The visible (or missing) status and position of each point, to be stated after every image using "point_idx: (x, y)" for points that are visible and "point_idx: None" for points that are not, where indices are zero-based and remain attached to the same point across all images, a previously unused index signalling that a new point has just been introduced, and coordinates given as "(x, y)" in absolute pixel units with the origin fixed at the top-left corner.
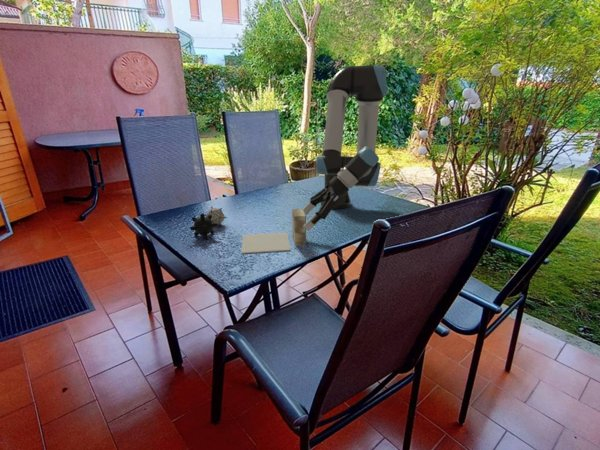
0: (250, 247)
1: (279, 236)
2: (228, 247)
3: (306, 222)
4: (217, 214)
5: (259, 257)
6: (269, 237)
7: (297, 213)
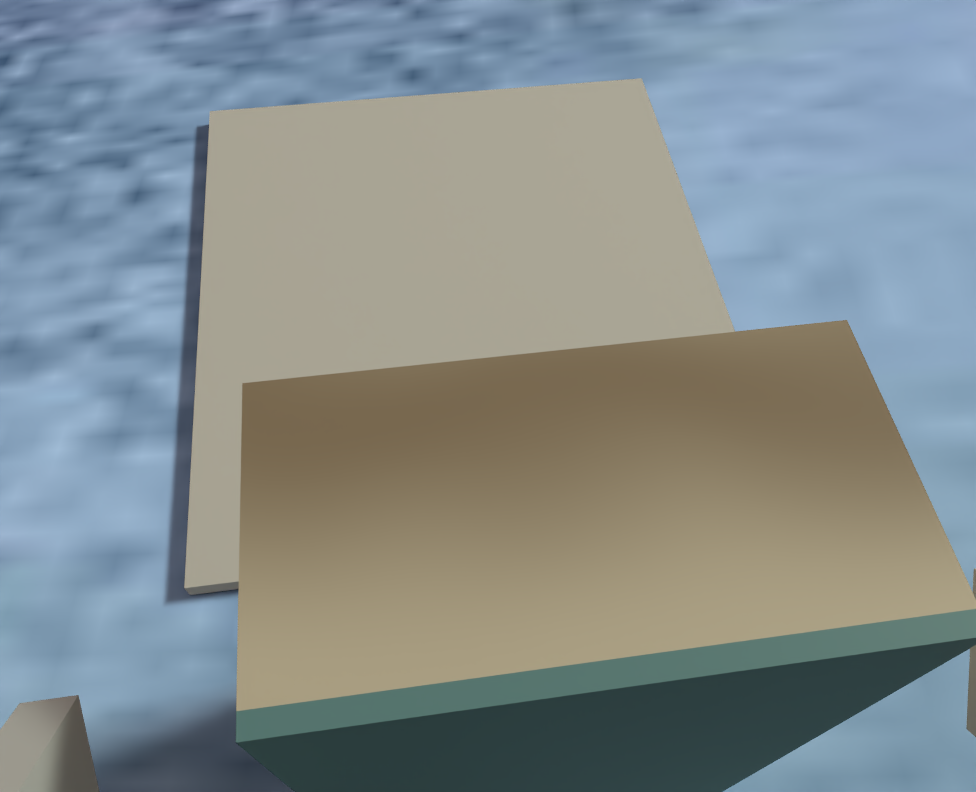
0: (318, 163)
1: None
2: (372, 27)
3: (15, 784)
4: None
5: (89, 266)
6: (596, 309)
7: (488, 457)
